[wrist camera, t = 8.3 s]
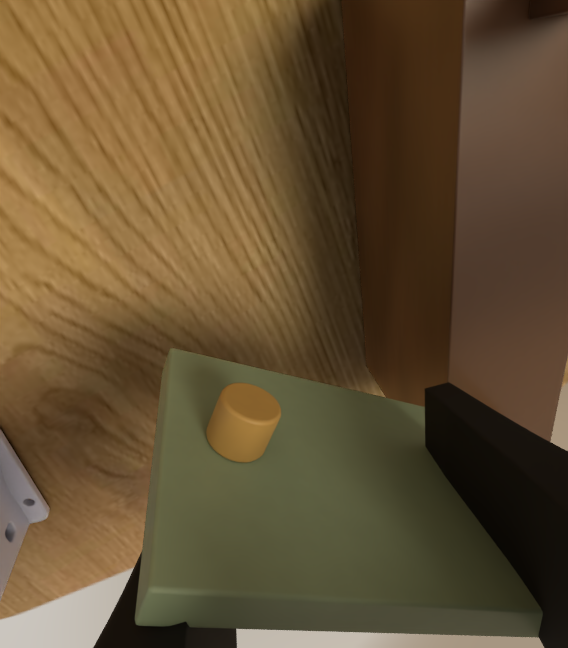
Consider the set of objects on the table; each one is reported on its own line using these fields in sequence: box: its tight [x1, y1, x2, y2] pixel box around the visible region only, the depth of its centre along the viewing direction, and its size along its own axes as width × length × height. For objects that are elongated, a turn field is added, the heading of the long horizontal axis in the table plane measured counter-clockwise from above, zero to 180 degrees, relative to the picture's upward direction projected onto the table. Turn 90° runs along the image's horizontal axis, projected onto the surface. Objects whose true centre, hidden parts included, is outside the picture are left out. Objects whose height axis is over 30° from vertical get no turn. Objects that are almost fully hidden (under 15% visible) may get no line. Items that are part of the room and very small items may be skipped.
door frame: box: [341, 0, 568, 442], centre depth 12 cm, size 16×4×15 cm, turn 9°
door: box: [135, 348, 543, 637], centre depth 10 cm, size 12×2×6 cm, turn 68°
